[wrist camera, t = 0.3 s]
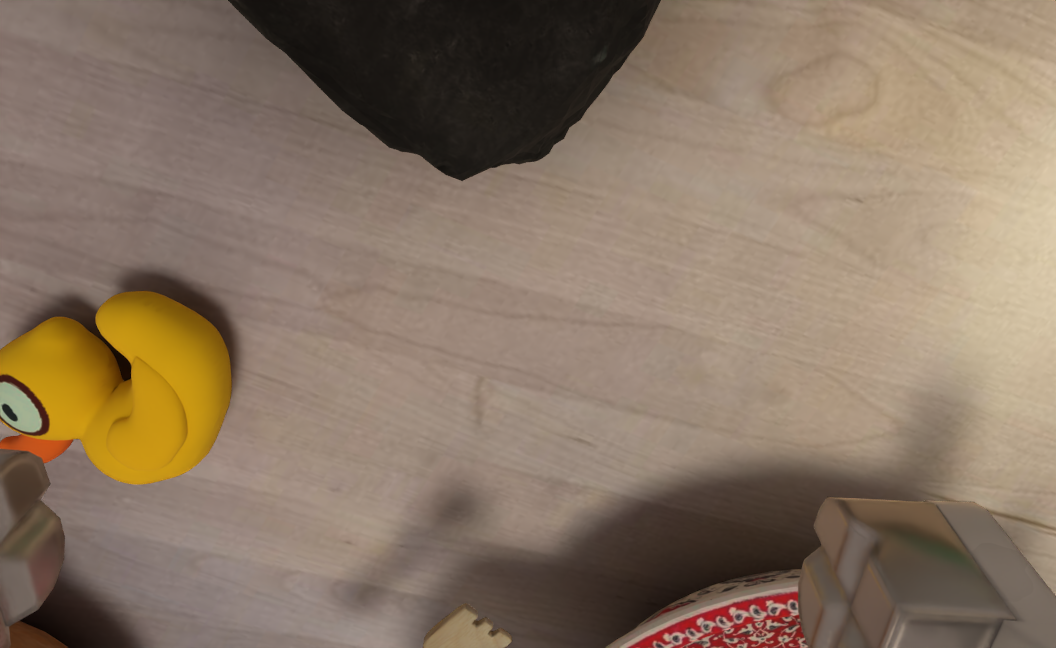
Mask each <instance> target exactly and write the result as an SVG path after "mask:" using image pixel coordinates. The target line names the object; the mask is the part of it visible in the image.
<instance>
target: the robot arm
mask: <svg viewBox="0 0 1056 648" xmlns="http://www.w3.org/2000/svg"><path fill="white" fill-rule="evenodd" d="M49 486H50V481H49V478H48V475H47V472H46V469H45V466H44V463H43V460H42V458H41V457H39V456H37V455H35V454H33V453H31V452H29V451H22V450H10V449H0V648H9V647H10V646H11V643H10V633H9V626H11V625H13V624H14V623H16V622H18V621H19V620H21V619H23V618H25V617H26V616H28V615H30V614H31V613H33V612H35V611H36V610H38V609H39V608H40V606H41V605H42V603H43V602H44V601H45V599H46V598H47V596H48V595H49V594H50V592H51V591H52V589H53V588H54V587H55V584H56V581H57V578H58V575H59V573H60V570H61V567H62V564H63V561H64V553H65V535H64V531H63V528H62V524H61V520H60V517H58V516H57V515H56V514H55V513H54V512H53V511H52V510H51V509H50V508H49V507H48V506H46V505H45V504H44V503H43V502H42V501H41V498H42V497H43V495H44V494H45V492H46V491H47V489H48V487H49ZM814 529H815V531H816V533H817V536H818V538H819V540H820V542H821V544H822V545H821V546H820V547H819V548H818V549H816V550H815V551H814V552H813V553H811V554H810V555H809V556H808V557H806V558H805V559H804V562H803V566H802V570H801V574H800V578H799V582H798V613H799V618H800V623H801V628H802V632H803V635H804V637H805V640H806V643H807V646H808V648H1056V596H1055V595H1054V593H1053V592H1052V591H1051V590H1050V588H1049V587H1048V586H1047V585H1046V583H1045V582H1044V581H1043V580H1042V578H1041V577H1040V576H1039V574H1038V573H1037V572H1036V571H1035V569H1034V568H1033V567H1032V566H1031V564H1030V563H1029V562H1028V561H1027V559H1026V558H1025V557H1024V556H1023V554H1022V553H1021V552H1020V551H1019V549H1018V548H1017V547H1016V545H1015V544H1014V543H1013V542H1012V540H1011V539H1010V538H1009V537H1008V535H1007V534H1006V533H1005V532H1004V530H1003V529H1002V528H1001V527H1000V525H999V524H998V523H997V522H996V520H995V519H994V518H993V516H992V515H991V514H990V513H989V511H988V510H987V509H985V508H984V507H982V506H980V505H978V504H977V503H975V502H961V501H929V500H925V501H923V502H917V501H898V500H879V499H859V498H840V497H827V498H826V500H825V501H824V502H823V504H822V505H821V506H820V508H819V511H818V514H817V517H816V520H815V524H814Z"/></svg>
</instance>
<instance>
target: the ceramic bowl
mask: <svg viewBox="0 0 1056 648" xmlns="http://www.w3.org/2000/svg"><path fill="white" fill-rule="evenodd" d="M801 570H802V569H796V570H783V571H772V572H766V573H759V574H753V575H748V576H744V577H740V578H735V579H731V580H728V581H725V582H721V583H718V584H715V585H712V586H709V587H707V588H704V589H701V590H699V591H696V592H694V593H692V594H690V595H688V596H685V597H683V598H681V599H679V600H677V601H675V602H673V603H672V604H670V605H668V606H666V607H665V608H663V609H661V610H659V611H658V612H656V613H655V614H653V615H652V616H650V617H649V618H647V619H646V620H644V621H643V622H642V623H640V624H639V625H638V626H636V627H635V628H634V629H633V630H632V631H630V632H629V633H627V634H626V635H624V636H622V637H620V638H619V639H617V640H616V641H614V642H613V643H611V644H610V645H608V646H607V647H606V648H808V646H807V643H806V640H805V637H804V635H803V632H802V628H801V623H800V618H799V613H798V582H799V578H800V574H801Z"/></svg>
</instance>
